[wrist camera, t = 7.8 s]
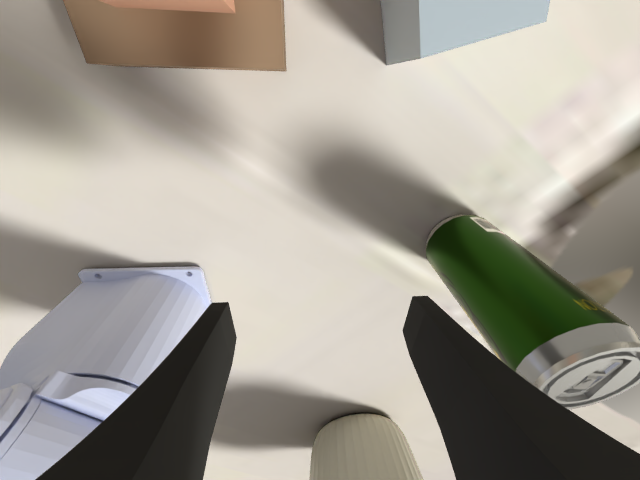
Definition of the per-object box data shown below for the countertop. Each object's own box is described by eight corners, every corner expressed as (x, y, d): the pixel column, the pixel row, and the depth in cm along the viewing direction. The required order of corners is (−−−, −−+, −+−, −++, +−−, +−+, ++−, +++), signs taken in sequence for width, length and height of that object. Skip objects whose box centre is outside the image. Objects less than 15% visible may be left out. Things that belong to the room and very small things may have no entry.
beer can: (438, 205, 20) (588, 338, 9) (499, 216, 20) (696, 347, 10) (412, 261, 22) (506, 411, 12) (466, 268, 23) (597, 413, 13)
